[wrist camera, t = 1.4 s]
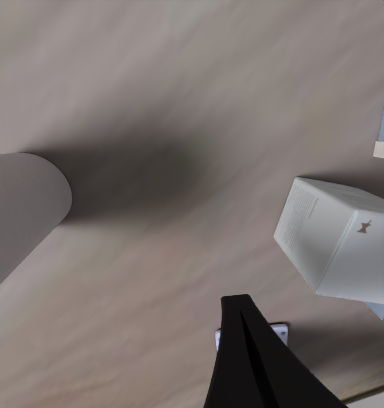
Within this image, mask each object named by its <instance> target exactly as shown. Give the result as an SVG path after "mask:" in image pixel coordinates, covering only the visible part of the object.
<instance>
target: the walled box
mask: <svg viewBox="0 0 384 408" xmlns="http://www.w3.org/2000/svg"><path fill="white" fill-rule="evenodd" d="M373 156H374V157H379V158H384V111H383V116H382V121H381V127H380V132H379V137H378V141H376V143H375V149H374V154H373ZM364 302H365V301H364ZM365 303H366V304H367V305H368V306H369V307H370V308H371V309H372V310H373V311H374V312H375V313H376V314H377V315H378V316H379V318H380V319H381V320H384V304H379V303H372V302H365Z"/></svg>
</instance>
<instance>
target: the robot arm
mask: <svg viewBox="0 0 384 408" xmlns="http://www.w3.org/2000/svg"><path fill="white" fill-rule="evenodd" d="M221 306H222V322H221V330H218V331H216V333H215V336H216V345H217V357H216V362H215V366H214V371H213V375H212V379H211V383H210V387H209V390H208V394H207V397H206V401H205V404H204V408H348V407H347V406H346V405H345V404H344V403H343V402H342V401H340V400H339V399H338V398H337V397H336V396H335V395H334V394H333V393H332V392H331V391H329V390H328V389H327V388H326V387H325V386H324V385H323V384H322V383H321V382H320V381H319V380H318V379H317V378H316V377H315V376H314V375H313V374H312V373H311V372H310V371H309V370H308V369H307V368H306V367H305V366H304V365H303V364H302V362H301V361H300V360H299V359H298V358H297V357H296V356H295V355H294V354H293V353H292V351H291V350H290V349H289V348H288V347H287V337H288V328H287V326H286V325H285V324H276V325H269V323H268V322H267V321H266V319H265V318H264V317H263V315H262V314H261V312H260V311H259V309H258V308H257V307H256V305H255V303H254V302H253V300H252V299H251V297H250V295H248V294H242V295H233V296H223V297H222V298H221Z"/></svg>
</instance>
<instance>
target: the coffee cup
mask: <svg viewBox="0 0 384 408" xmlns="http://www.w3.org/2000/svg"><path fill="white" fill-rule="evenodd" d="M71 205H72V193H71V189H70V186H69V183H68V181H67V179H66V178H65V176H64V175H63V174H62V172H61V171H60V170H59V169H58V168H57V167H56V166H55V165H53V164H52V163H51V162H49V161H48V160H46V159H44V158H42V157H40V156H37V155H34V154H29V153H11V154H0V284H1V283H2V282H3V281H4V280H5V279H6V278H7V277H8V276H9V274H10V273H11V272H12V271H13V270H14V269H15V268H16V267H17V266H18V265H19V264H20V263H21V262H22V261H23V260H24V259H25V258H26V257H27V256H28V255H29V254H30V253H31V252H32V251H33V250H34V249H35V248H36V247H37V246H38V245H39V244H40V243H41V242H42V241H43V239H44V238H45V237H46V236H47V235H48V234H49V233H50V232H51V231H52V230H53V229H54V228H55V227H56V226H57V225H58V224H59V223H60V222H61V221H62V220H63V219H64V218H65V217H66V216H67V214H68V213H69V211H70V208H71Z"/></svg>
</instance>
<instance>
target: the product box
mask: <svg viewBox="0 0 384 408" xmlns="http://www.w3.org/2000/svg"><path fill="white" fill-rule="evenodd" d="M274 239H275V240H276V241H277V243H278V244H279V245H280V247H281V248H282V250H283V251H284V252H285V254H286V255H287V256H288V258H289V259H290V260H291V262H292V263H293V264H294V266H295V267H296V268H297V270H298V271H299V272H300V274H301V275H302V277H303V278H304V279H305V281H306V282H307V283H308V285H309V286H310V287H311V289H312V290H313V292H314V293H315V294H316V295H324V296H331V297H338V298H345V299H352V300H359V301H365V302H372V303H379V304H384V199H383V198H380V197H378V196H375V195H373V194H371V193H368V192H366V191H363V190H361V189H359V188H355V187H351V186H346V185H341V184H335V183H330V182H324V181H319V180H313V179H307V178H301V177H296V178H295V179H294V182H293V185H292V188H291V190H290V193H289V196H288V198H287V201H286V204H285V207H284V209H283V212H282V215H281V217H280V220H279V223H278V226H277V228H276V231H275V234H274Z"/></svg>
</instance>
